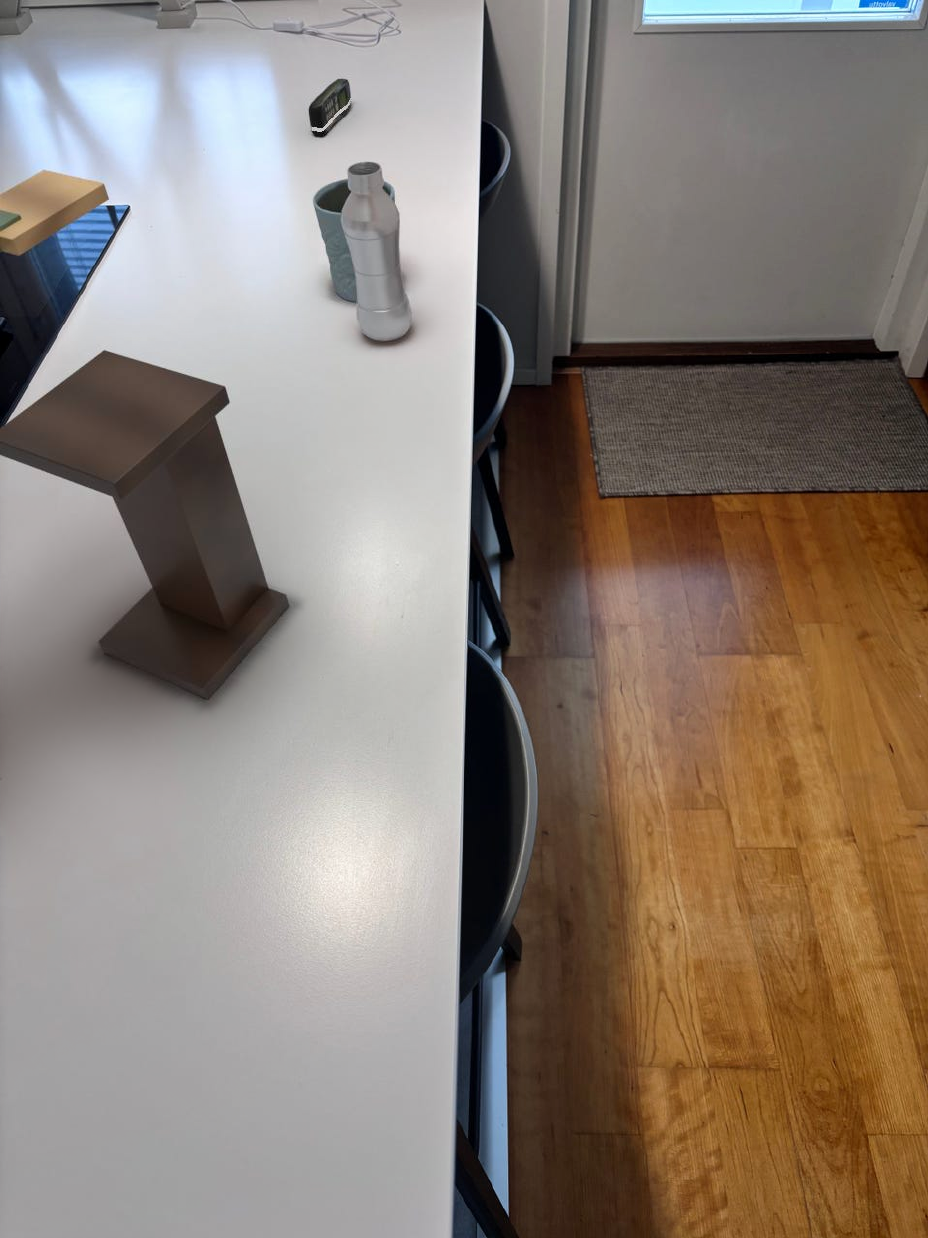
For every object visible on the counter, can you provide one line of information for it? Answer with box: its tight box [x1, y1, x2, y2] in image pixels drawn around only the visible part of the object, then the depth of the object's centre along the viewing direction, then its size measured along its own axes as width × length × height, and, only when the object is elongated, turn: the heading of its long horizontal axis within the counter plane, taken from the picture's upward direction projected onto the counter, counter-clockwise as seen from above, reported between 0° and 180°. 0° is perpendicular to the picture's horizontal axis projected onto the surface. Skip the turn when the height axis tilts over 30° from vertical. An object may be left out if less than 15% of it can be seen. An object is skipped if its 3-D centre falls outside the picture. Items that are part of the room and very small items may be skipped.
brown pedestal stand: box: [0, 349, 290, 700], centre depth 77 cm, size 12×12×24 cm
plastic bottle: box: [341, 161, 413, 342], centre depth 110 cm, size 6×7×20 cm
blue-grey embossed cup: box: [312, 178, 396, 303], centre depth 121 cm, size 10×10×12 cm
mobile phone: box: [308, 78, 352, 137], centre depth 160 cm, size 5×3×15 cm
